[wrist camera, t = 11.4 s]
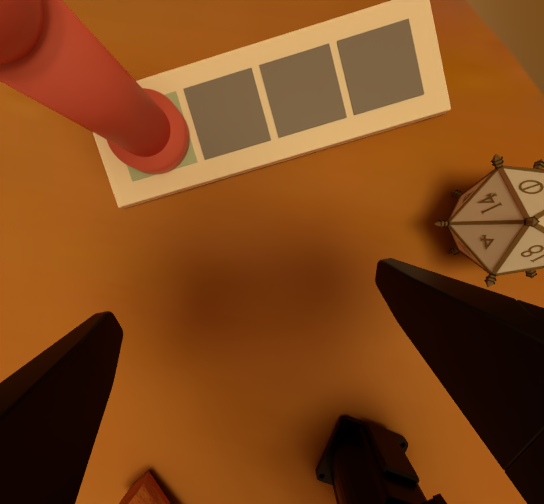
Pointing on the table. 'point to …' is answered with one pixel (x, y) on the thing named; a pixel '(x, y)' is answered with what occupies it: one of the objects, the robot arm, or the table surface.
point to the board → (294, 97)
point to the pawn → (88, 84)
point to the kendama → (145, 492)
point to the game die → (501, 221)
